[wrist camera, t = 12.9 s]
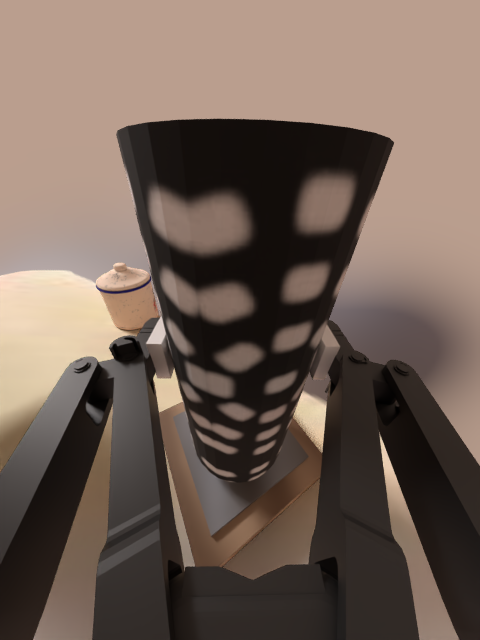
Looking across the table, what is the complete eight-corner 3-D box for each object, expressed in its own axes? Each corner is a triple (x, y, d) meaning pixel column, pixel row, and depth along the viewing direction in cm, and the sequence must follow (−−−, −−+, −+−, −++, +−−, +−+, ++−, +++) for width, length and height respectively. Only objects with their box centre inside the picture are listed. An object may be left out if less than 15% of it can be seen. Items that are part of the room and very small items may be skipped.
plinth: (203, 583, 15) (199, 583, 13) (162, 429, 24) (155, 411, 21) (320, 477, 21) (332, 463, 18) (251, 384, 29) (253, 366, 27)
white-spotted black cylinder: (206, 505, 14) (90, 87, 2) (185, 404, 20) (123, 147, 8) (300, 455, 17) (467, 146, 5) (257, 379, 23) (286, 159, 11)
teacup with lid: (168, 316, 42) (157, 264, 35) (126, 338, 36) (102, 279, 30) (139, 297, 48) (124, 249, 41) (99, 313, 42) (73, 260, 35)
